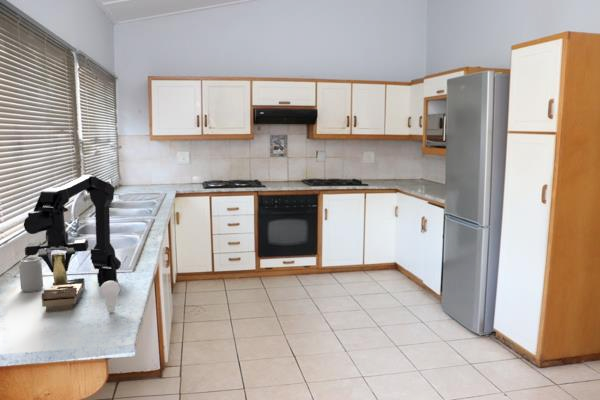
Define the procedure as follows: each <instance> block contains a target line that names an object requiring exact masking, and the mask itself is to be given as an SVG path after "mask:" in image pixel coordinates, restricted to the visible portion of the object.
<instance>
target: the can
mask: <svg viewBox="0 0 600 400" xmlns="http://www.w3.org/2000/svg"><path fill="white" fill-rule="evenodd" d="M18 270H19V271H18V272H19V280H20V291H21V290H22V291H23V292H24V293H34V292H38V291H40V290H41V289H42V288H43V287H44V279H43V267H42V261H41V260H40V257H37V256H36V257H35V256H33V257H32V256H31V257H25V258H22V259H20V263H18Z"/></svg>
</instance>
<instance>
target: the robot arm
mask: <svg viewBox="0 0 600 400" xmlns="http://www.w3.org/2000/svg"><path fill="white" fill-rule="evenodd" d="M84 191H85V192H87V193H88V194H89V197H90V198H89V199H90V201H91V202H92V204H93V205H94V207H95V209H94V214H95V217H94V218H95V244H94V247H93V248H91V249H90V258H89V259H90V260H91V263H92V266H93V268H94V270H98V271H97V274H96V275H97V276H96V277H97V284H98V287H101V286H102V284H103V283H104V282H106V281H115V282H116V283H118V281H119V279H118V273H117V270H119V269H121V265H122V261H120V259H119V258H118V257H117V256H116V252H115V248H114V247H113V245H112V243H111V229H110V226H111V225H110V223H111V221H110V206H111V204H112V202H113V200H114V196H115V187H114V186H113V184H111V183H109V182H107V181H104V180H102V179H100V178H98V177H97V176H95V175H93V174H84V175H83V174H82V175H81V176H79V178H76V179H74V180H72V181H69V182H67V183H66V184H64V185H62V186H59V187H51V188H46V189H43V190H41V192H40V195H39V196H38V199H37V202H36V204H35V206H34V207H33V211H32V212H28V213H27V217H26V218H25V219H24V222H23V228H24V230H25V232H27V233H28V234H30V235H36V234H39V233H42V232H44V231H45V240H46V241H47V242H46V243H47V244H42V243H41V242H30V243H28V245H27V246H26V247H25V248H24V255H25V256H36V255H37V256H38V257H37V258H41V259H42V260H43V261H44V262H45V264H46V265H47V266H48V268H49V270H50V272H51V273H52V274H53V265H52V251H61V250H66V251H65V253H64V254H65V269H66V272H68V270H69V265H70V263H71V259H72V256H73V255H76V252H86V251H87V250H88V248H89V240H88V239H85V238H84V239H75V240H74V242H71V243H69V232H67V231H66V223H65V212H66V213H67V212H68V211H69V209H68V208H67V207H66V206H65V205H66V204H67V203H69V201H70V199H71V198H72V197H75V196H76V195H78V194H80V193H81V192H84Z"/></svg>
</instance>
